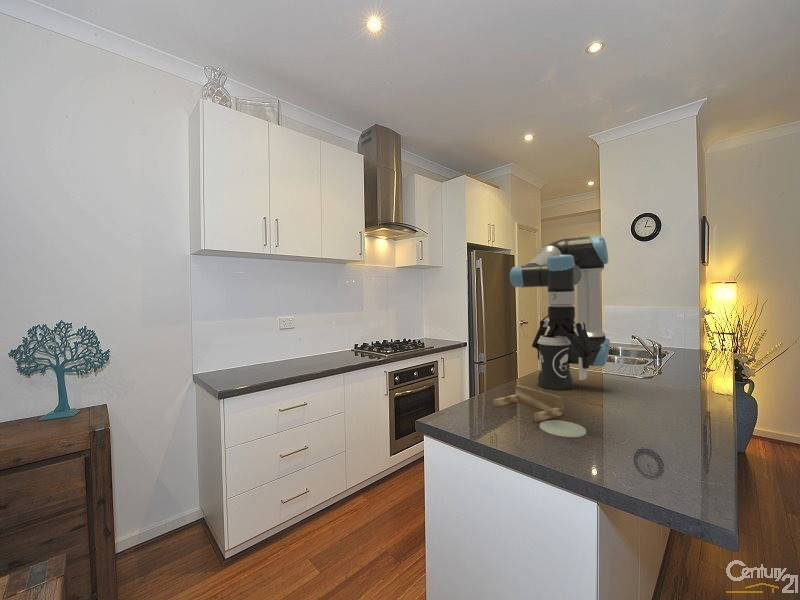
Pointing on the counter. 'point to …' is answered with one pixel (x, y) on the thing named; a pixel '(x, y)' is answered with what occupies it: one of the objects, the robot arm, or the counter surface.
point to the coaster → (562, 428)
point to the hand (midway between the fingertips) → (562, 374)
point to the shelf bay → (535, 402)
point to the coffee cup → (554, 359)
